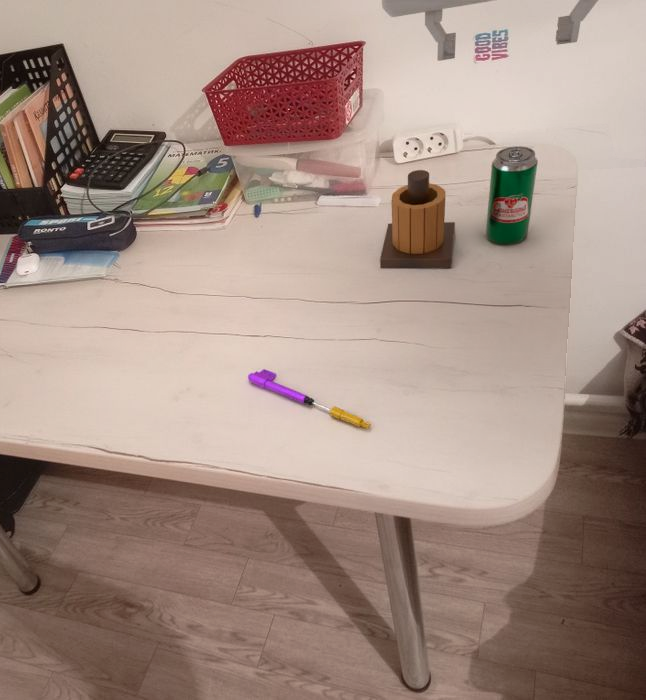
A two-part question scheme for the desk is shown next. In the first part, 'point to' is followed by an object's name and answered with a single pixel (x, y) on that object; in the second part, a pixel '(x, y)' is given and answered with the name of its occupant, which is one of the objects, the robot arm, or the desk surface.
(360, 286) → the desk surface
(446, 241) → the stand
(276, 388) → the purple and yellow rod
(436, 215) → the wooden hollow cylinder
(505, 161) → the soda can
